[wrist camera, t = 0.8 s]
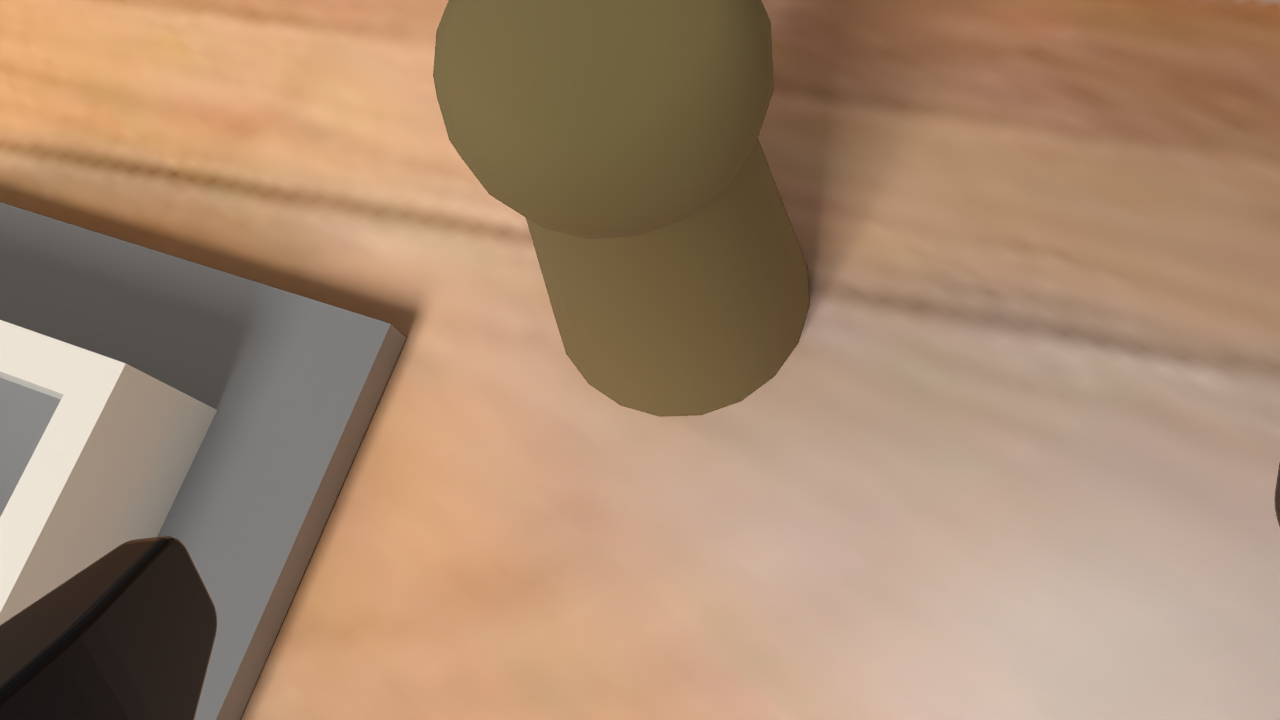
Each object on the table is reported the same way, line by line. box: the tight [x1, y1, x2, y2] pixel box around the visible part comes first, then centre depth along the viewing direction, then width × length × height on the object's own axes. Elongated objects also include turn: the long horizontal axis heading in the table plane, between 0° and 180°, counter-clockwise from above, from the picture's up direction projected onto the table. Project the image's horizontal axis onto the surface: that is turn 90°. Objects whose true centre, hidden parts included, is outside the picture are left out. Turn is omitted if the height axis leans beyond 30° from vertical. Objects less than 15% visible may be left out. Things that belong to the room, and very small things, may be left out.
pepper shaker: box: [433, 0, 809, 416], centre depth 20 cm, size 6×6×11 cm
